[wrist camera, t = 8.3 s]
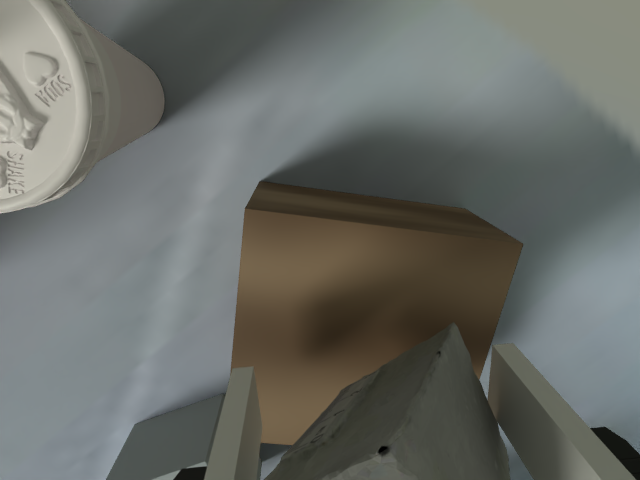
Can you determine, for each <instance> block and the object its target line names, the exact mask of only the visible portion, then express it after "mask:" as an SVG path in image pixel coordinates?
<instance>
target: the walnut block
mask: <svg viewBox="0 0 640 480" xmlns="http://www.w3.org/2000/svg"><path fill="white" fill-rule="evenodd" d="M522 247H523V243H521V242H519V241H518V240H516V239H514V238H513V237H511V236H509V235H508V234H506V233H504V232H503V231H501V230H499V229H498V228H496V227H495V226H493V225H491V224H490V223H488V222H486V221H485V220H483V219H481V218H480V217H478V216H476V215H475V214H473V213H471V212H470V211H468V210H466V209H463V208H456V207H448V206H441V205H433V204H426V203H418V202H411V201H404V200H396V199H389V198H381V197H374V196H366V195H359V194H351V193H344V192H336V191H329V190H321V189H314V188H306V187H299V186H291V185H284V184H276V183H269V182H262V181H260V182H259V183H258V185H257V187H256V189H255V191H254V193H253V195H252V196H251V198H250V200H249V202H248V204H247V206H246V208H245V214H244V225H243V237H242V248H241V259H240V271H239V282H238V294H237V305H236V317H235V328H234V339H233V351H232V362H231V372H232V368H243V367H254V373H255V380H256V386H257V393H258V400H259V406H260V413H261V420H262V435H261V443H270V444H284V445H293V444H294V443H295V442H296V441H297V440H298V439H299V438H300V437H301V436H302V435H303V433H304V432H305V431H306V430H307V429H308V428H309V427H310V426H311V425H312V424H313V423H314V422H315V421H316V419H317V418H318V417H319V416H320V415H321V413H322V412H323V411H325V410H326V408H327V407H328V406H329V404H331V403H332V402H333V400H334V399H335V398H336V397H337V396H338V394H339V392H340V390H342V389H343V388H345V387H346V386H348V385H350V384H352V383H354V382H356V381H358V380H360V379H361V378H362V377H363V376H365V375H369V374H371V373H373V372H374V371H376V370H377V369H379V368H380V367H381V366H382V365H384V364H387V363H388V362H389V361H391V360H393V359H395V358H397V357H398V356H399V355H400V354H402V353H404V352H405V351H407V350H410V349H412V348H413V347H414V346H416V345H418V344H420V343H422V342H424V341H426V340H428V339H430V338H431V337H433V336H434V335H436V334H437V333H439V332H440V331H442V330H444V329H445V328H446V327H447V326H448V325H450V324H451V323H453V322H454V323H455V324H456V326H457V327H458V329H459V332H460V334H461V337H462V339H463V341H464V344H465V346H466V348H467V350H468V352H469V353H470V357H471V362H472V366H473V369H474V372H475V374H476V375H477V377H478V379H480V376H481V373H482V370H483V367H484V364H485V361H486V357H487V354H488V351H489V348H490V345H491V342H492V339H493V336H494V333H495V330H496V327H497V324H498V321H499V317H500V314H501V311H502V308H503V305H504V302H505V299H506V296H507V293H508V290H509V287H510V284H511V281H512V277H513V274H514V271H515V268H516V265H517V262H518V259H519V256H520V253H521V250H522ZM230 376H231V374H230Z"/></svg>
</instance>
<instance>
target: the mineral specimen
mask: <svg viewBox="0 0 640 480" xmlns="http://www.w3.org/2000/svg"><path fill="white" fill-rule="evenodd" d="M508 461H509V459H508V455H507V450H506V447H505V444H504V442H503V440H502V438H501V436H500V432H499V428H498V423H497V420H496V418H495V416H494V414H493V412H492V410H491V407H490V405H489V403H488V401H487V398H486V396H485V394H484V391H483V388H482V385H481V383H480V381H479V379H478V377H477V375H476V374H475V372H474V369H473V366H472V362H471V357H470V353H469V352H468V350H467V348H466V346H465V344H464V341H463V339H462V337H461V334H460V332H459V329H458V327H457V326H456V324H455V323H454V322H453V323H451V324H450V325H448V326H447V327H446V328H445V329H444V330H442V331H440V332H439V333H437V334H436V335H434V336H433V337H431V338H430V339H428V340H426V341H424V342H422V343H420V344H418V345H416V346H414V347H413V348H412V349H410V350H407V351H405V352H404V353H402V354H400V355H399V356H398V357H397V358H395V359H393V360H391V361H389V362H388V363H387V364H384V365H382V366H381V367H380V368H379V369H377V370H376V371H374V372H373V373H371V374H369V375H365V376H363V377H362V378H361V379H360V380H358V381H356V382H354V383H352V384H350V385H348V386H346V387H345V388H343V389H342V390H340V392H339V394H338V396H337V397H336V398H335V399H334V400H333V402H332V403H331V404H329V406H328V407H327V408H326V410H325V411H323V412H322V413H321V415H320V416H319V417H318V418H317V419H316V421H315V422H314V423H313V424H312V425H311V426H310V427H309V428H308V429H307V430H306V431H305V432H304V433H303V435H302V436H301V437H300V438H299V439H298V440H297V441H296V442H295V443H294V444H293V446H292V447H291V448H290V449H289V450H288V451H287V452H286V453H285V454H284V455H283V456H282V458H281V461H280V463H279V464H278V465H277V467H276V468H275V469H274V470H273V471H272V472H271V473H270V474H269V475H268V476H267V477H266V478H265V479H264V480H510V475H509V464H508Z"/></svg>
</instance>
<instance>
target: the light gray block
mask: <svg viewBox="0 0 640 480" xmlns="http://www.w3.org/2000/svg"><path fill="white" fill-rule="evenodd" d="M224 399H225V396H224V394H220V395H217V396H214V397H211V398H209V399H206V400H203V401H200V402H197V403H194V404H191V405H189V406H186V407H183V408H180V409H177V410H174V411H171V412H168V413H166V414H163V415H160V416H157V417H154V418H151V419H148V420H146V421H143V422H140V423H137V424H135V425H134V427H133V429H132V430H131V432H130V434H129V436H128V438H127V440H126V442H125V444H124V446H123V448H122V450H121V452H120V454H119V455H118V457H117V459H116V461H115V463H114V465H113V467H112V469H111V471H110V473H109V475H108V477H107V479H106V480H173V479H174V478H175V477H176V475H177V474H178V473H179V471H180V470H181V469H183V468H193V467H204V466H208V462H209V458H210V454H211V450H212V446H213V442H214V438H215V435H216V431H217V427H218V423H219V419H220V415H221V411H222V407H223V403H224ZM261 466H262V461H261V459H260V458H259V461H258V470H257V479H256V480H260V476H261Z"/></svg>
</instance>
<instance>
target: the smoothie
mask: <svg viewBox="0 0 640 480" xmlns="http://www.w3.org/2000/svg"><path fill="white" fill-rule="evenodd" d="M164 105H165V99H164V92H163V88H162V85H161V83H160V81H159V79H158V77H157V76H156V74H155V73H154V72H153V70H152V69H151V68H150V67H149V66H148V65H147V64H145V63H144V62H143V61H141V60H140V59H138V58H137V57H135V56H134V55H132V54H131V53H129V52H128V51H126V50H125V49H124V48H122V47H121V46H119V45H118V44H116V43H115V42H113V41H112V40H110V39H109V38H107V37H106V36H104V35H103V34H102V33H100V32H99V31H97V30H96V29H94V28H93V27H91V26H90V25H88V24H87V23H85V22H84V21H83V20H81V19H80V18H78V17H77V15H76V14H75V13H74V12H73V10H72V9H71V8H70V6H69V5H68V4H67V2H66V1H65V0H0V213H6V212H12V211H16V210H20V209H24V208H27V207H35V206H38V205H41V204H43V203H46V202H49V201H52V200H55V199H58V198H61V197H62V196H63V195H65V194H66V193H67V192H69V191H70V190H71V189H73V188H74V187H76V186H77V185H78V184H80V183H81V182H82V181H83V180H84V179H85V178H86V176H87V175H88V173H89V172H90V171H91V169H92V168H93V167H94V165H95V164H96V162H98V161H100V160H102V159H103V158H105V157H107V156H108V155H110V154H112V153H114V152H115V151H117V150H119V149H120V148H122V147H124V146H126V145H127V144H129V143H131V142H133V141H134V140H136V139H138V138H139V137H141V136H143V135H145V134H146V133H148V132H150V131H151V130H152V129H153V128H154V127H155V126H156V125H157V124H158V123H159V121H160V119H161V117H162V115H163V111H164Z"/></svg>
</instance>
